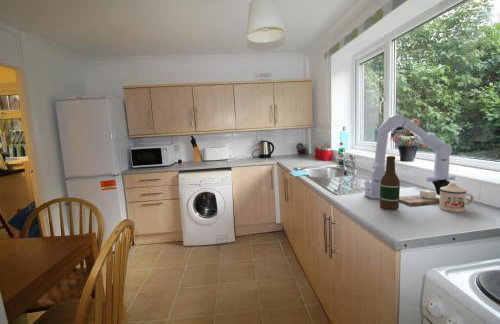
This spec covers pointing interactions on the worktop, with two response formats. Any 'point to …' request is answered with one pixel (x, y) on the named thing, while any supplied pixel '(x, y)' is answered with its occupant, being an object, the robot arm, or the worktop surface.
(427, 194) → the fader tab
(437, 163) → the robot arm
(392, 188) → the beer bottle
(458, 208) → the teacup with lid
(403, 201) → the console board
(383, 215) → the worktop surface
